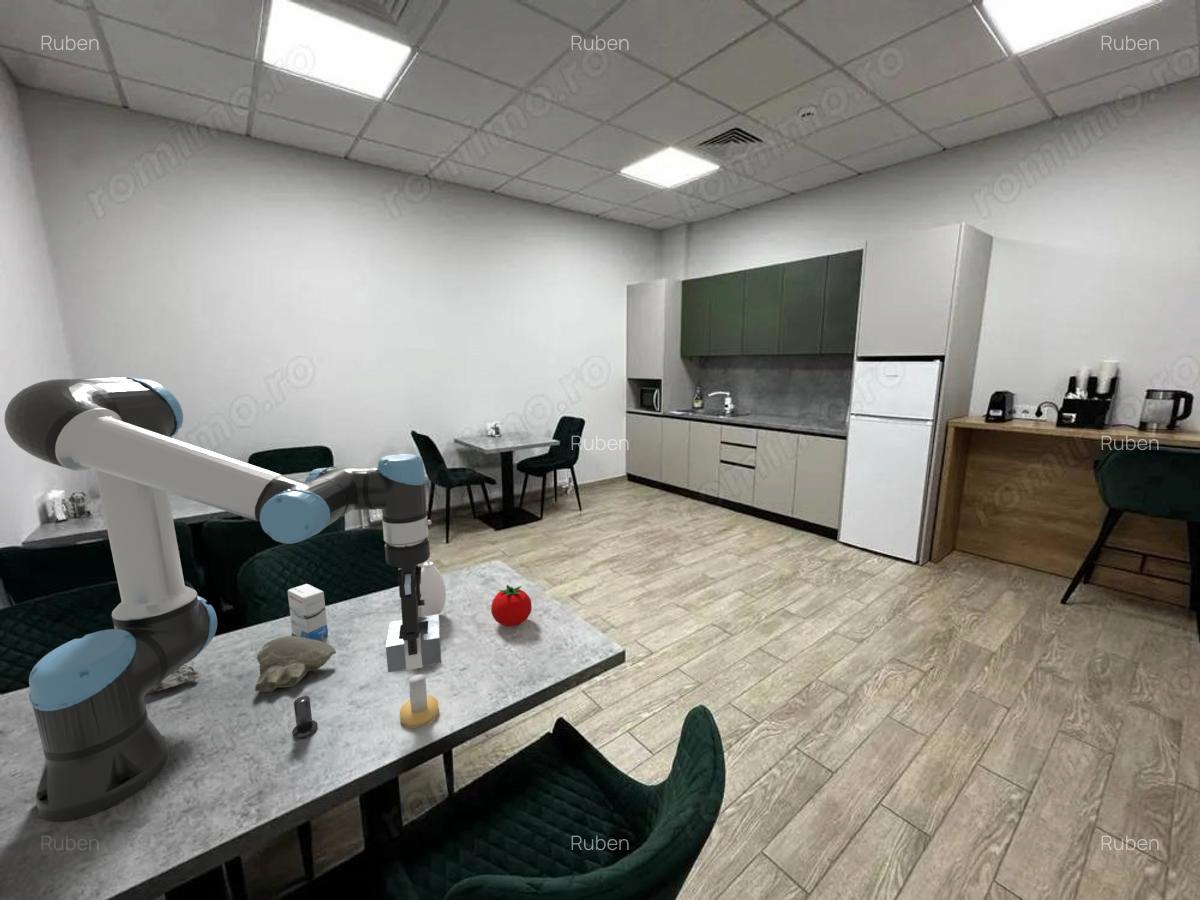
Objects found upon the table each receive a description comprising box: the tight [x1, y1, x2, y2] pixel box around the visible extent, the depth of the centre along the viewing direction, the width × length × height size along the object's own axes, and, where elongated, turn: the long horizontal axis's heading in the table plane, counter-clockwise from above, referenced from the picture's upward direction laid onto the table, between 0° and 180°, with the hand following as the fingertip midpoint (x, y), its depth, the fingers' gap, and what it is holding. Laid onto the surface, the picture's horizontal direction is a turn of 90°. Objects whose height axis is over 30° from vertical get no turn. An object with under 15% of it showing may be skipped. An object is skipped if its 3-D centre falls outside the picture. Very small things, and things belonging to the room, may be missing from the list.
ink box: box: [287, 583, 329, 640], centre depth 122 cm, size 8×5×12 cm, turn 58°
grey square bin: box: [385, 614, 442, 673], centre depth 92 cm, size 9×9×5 cm
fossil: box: [254, 635, 337, 693], centre depth 106 cm, size 14×10×10 cm
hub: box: [399, 674, 440, 728], centre depth 94 cm, size 7×7×8 cm
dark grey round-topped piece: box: [291, 695, 319, 740], centre depth 90 cm, size 4×4×6 cm
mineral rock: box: [146, 664, 200, 694], centre depth 104 cm, size 15×8×4 cm, turn 73°
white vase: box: [418, 557, 447, 617], centre depth 129 cm, size 8×8×18 cm
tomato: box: [490, 584, 532, 628], centre depth 127 cm, size 10×10×10 cm
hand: (415, 652), depth 92 cm, fingers closed on grey square bin, 9 cm apart
